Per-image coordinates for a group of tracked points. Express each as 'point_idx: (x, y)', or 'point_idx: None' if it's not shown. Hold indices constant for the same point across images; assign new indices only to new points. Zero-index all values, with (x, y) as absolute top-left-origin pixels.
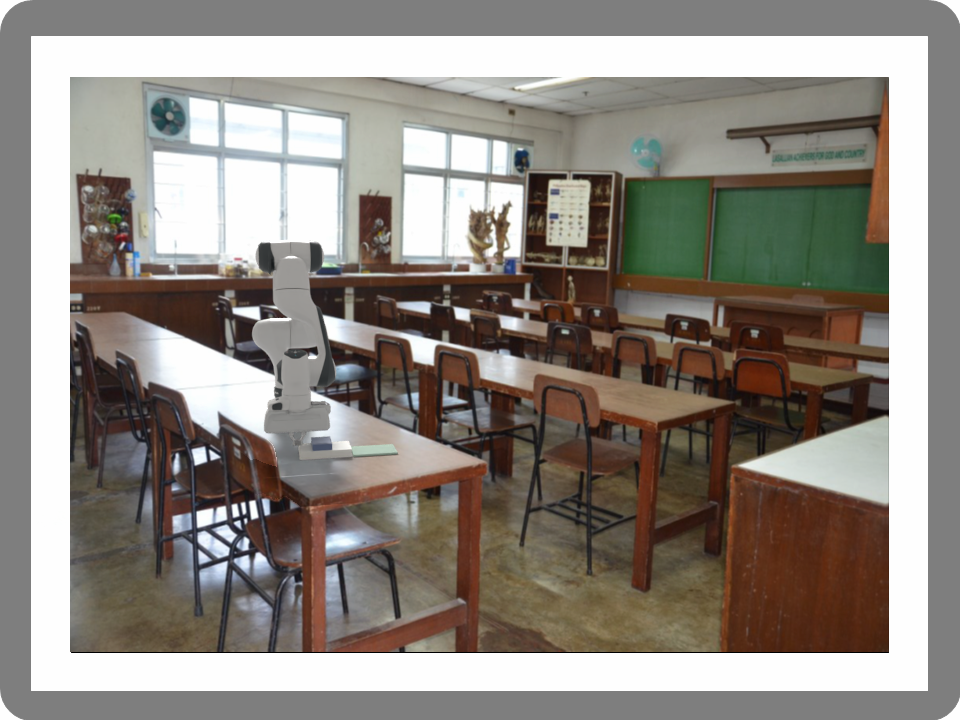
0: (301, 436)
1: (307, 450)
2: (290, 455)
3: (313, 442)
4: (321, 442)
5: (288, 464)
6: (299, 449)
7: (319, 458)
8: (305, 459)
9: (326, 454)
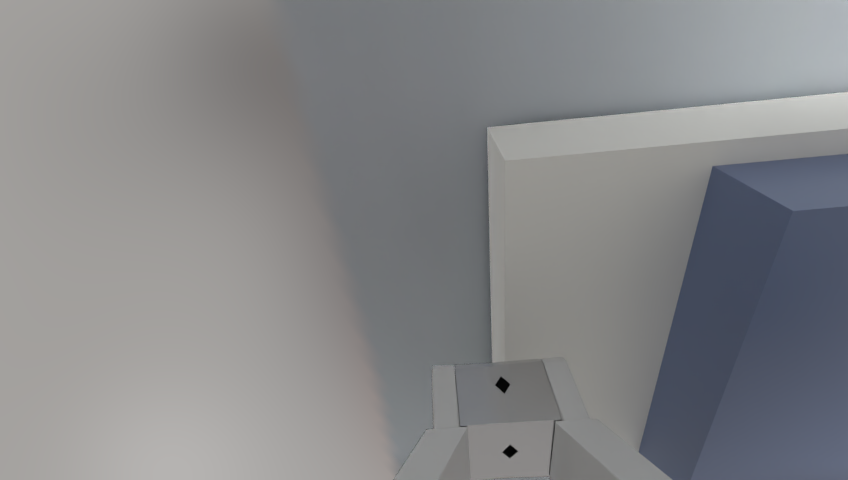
0: (592, 472)
1: None
2: (398, 251)
3: (716, 462)
4: (819, 466)
5: (408, 454)
6: None
7: None
8: None
9: None
